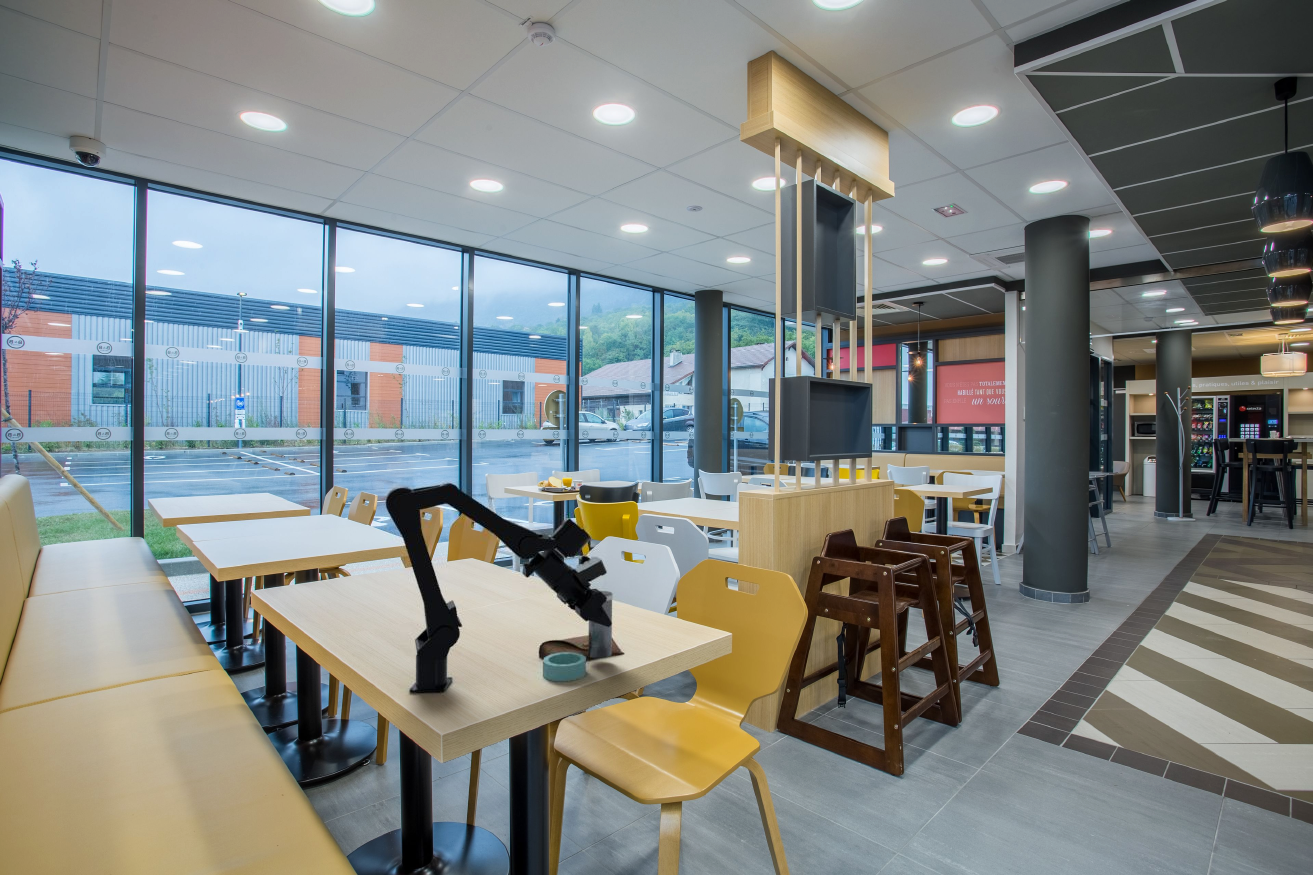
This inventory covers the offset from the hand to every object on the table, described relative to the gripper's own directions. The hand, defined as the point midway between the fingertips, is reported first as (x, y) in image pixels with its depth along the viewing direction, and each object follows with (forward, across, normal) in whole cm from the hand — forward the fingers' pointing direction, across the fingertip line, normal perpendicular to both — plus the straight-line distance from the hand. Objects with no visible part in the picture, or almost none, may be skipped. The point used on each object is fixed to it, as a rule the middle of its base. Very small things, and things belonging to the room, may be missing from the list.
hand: (606, 622), depth 137 cm
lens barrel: (+4, 0, +6) cm, 7 cm away
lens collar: (-1, -3, +13) cm, 14 cm away
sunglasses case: (+4, +7, +9) cm, 12 cm away
